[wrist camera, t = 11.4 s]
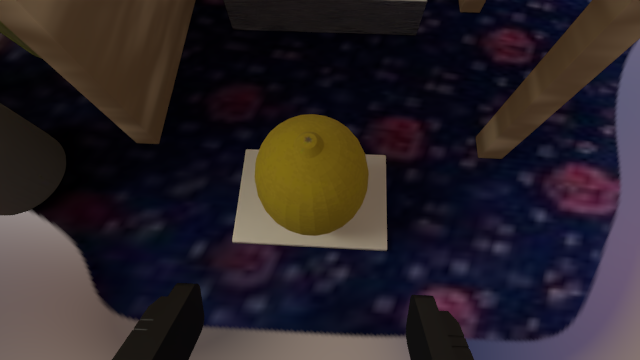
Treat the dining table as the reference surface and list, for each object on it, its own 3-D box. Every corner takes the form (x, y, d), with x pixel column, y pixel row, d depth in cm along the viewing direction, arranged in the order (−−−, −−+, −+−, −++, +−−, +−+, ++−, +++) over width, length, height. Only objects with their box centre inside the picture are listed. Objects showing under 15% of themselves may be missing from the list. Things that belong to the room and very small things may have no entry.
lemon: (377, 192, 21) (406, 124, 13) (325, 267, 19) (324, 239, 12) (305, 145, 22) (294, 59, 15) (250, 212, 20) (206, 155, 13)
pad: (233, 242, 20) (232, 241, 20) (247, 151, 22) (245, 149, 22) (386, 250, 20) (387, 249, 20) (384, 157, 22) (385, 155, 22)
